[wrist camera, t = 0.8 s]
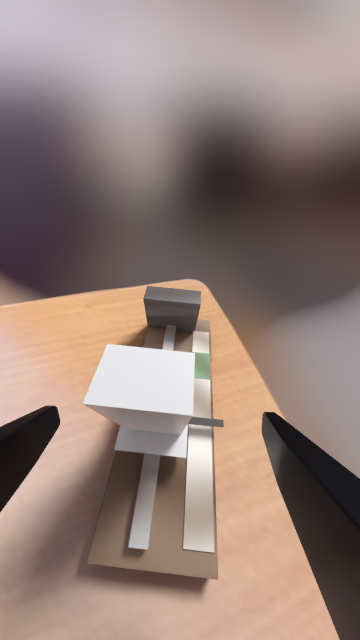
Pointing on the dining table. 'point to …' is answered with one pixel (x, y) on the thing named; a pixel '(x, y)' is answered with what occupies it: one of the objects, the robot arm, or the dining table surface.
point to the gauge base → (166, 467)
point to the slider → (147, 398)
